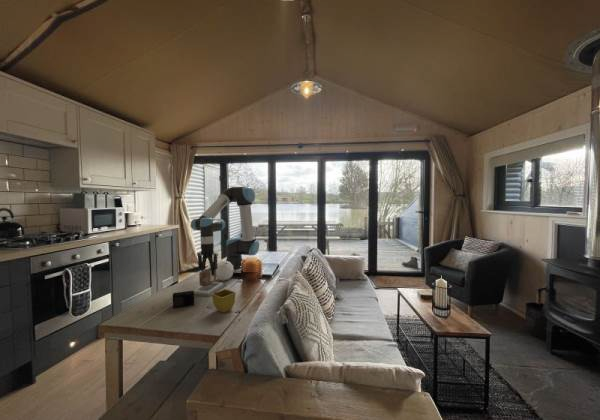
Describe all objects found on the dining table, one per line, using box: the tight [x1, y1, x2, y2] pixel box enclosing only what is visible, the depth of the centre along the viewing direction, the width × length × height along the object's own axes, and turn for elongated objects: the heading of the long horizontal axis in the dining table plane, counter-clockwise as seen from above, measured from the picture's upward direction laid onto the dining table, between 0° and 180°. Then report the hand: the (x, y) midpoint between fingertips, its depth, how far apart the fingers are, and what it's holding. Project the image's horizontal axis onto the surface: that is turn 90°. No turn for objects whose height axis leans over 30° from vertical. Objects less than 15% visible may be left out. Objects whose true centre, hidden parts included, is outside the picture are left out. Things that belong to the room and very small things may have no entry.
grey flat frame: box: [192, 281, 228, 297], centre depth 170 cm, size 20×14×2 cm
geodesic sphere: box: [216, 260, 235, 281], centre depth 189 cm, size 14×14×14 cm
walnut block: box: [198, 267, 217, 287], centre depth 169 cm, size 4×11×8 cm, turn 165°
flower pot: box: [211, 288, 237, 314], centre depth 140 cm, size 9×9×9 cm
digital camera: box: [172, 290, 195, 309], centre depth 146 cm, size 10×5×7 cm, turn 110°
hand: (208, 280), depth 170 cm, fingers closed on walnut block, 4 cm apart
